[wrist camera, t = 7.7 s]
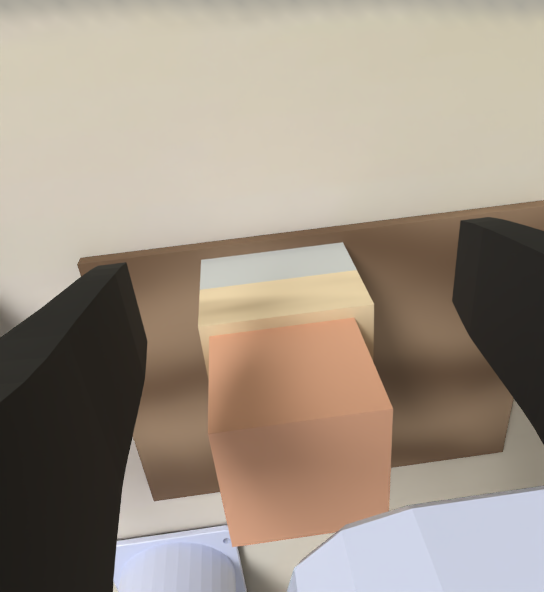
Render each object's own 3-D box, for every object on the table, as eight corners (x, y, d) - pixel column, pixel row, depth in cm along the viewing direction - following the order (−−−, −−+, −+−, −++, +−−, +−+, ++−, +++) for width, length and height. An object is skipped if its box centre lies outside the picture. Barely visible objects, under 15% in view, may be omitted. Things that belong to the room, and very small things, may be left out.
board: (497, 444, 30) (502, 451, 30) (154, 492, 29) (154, 501, 29) (544, 200, 22) (552, 205, 22) (80, 258, 22) (77, 264, 21)
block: (355, 423, 20) (388, 524, 16) (228, 440, 20) (232, 547, 16) (354, 317, 18) (393, 408, 14) (209, 336, 18) (207, 433, 14)
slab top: (357, 389, 23) (372, 431, 21) (222, 407, 23) (222, 451, 20) (356, 270, 20) (374, 304, 18) (199, 289, 19) (197, 326, 17)
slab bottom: (345, 354, 25) (357, 389, 23) (221, 371, 25) (222, 407, 23) (342, 242, 22) (356, 270, 20) (201, 259, 22) (199, 289, 19)
